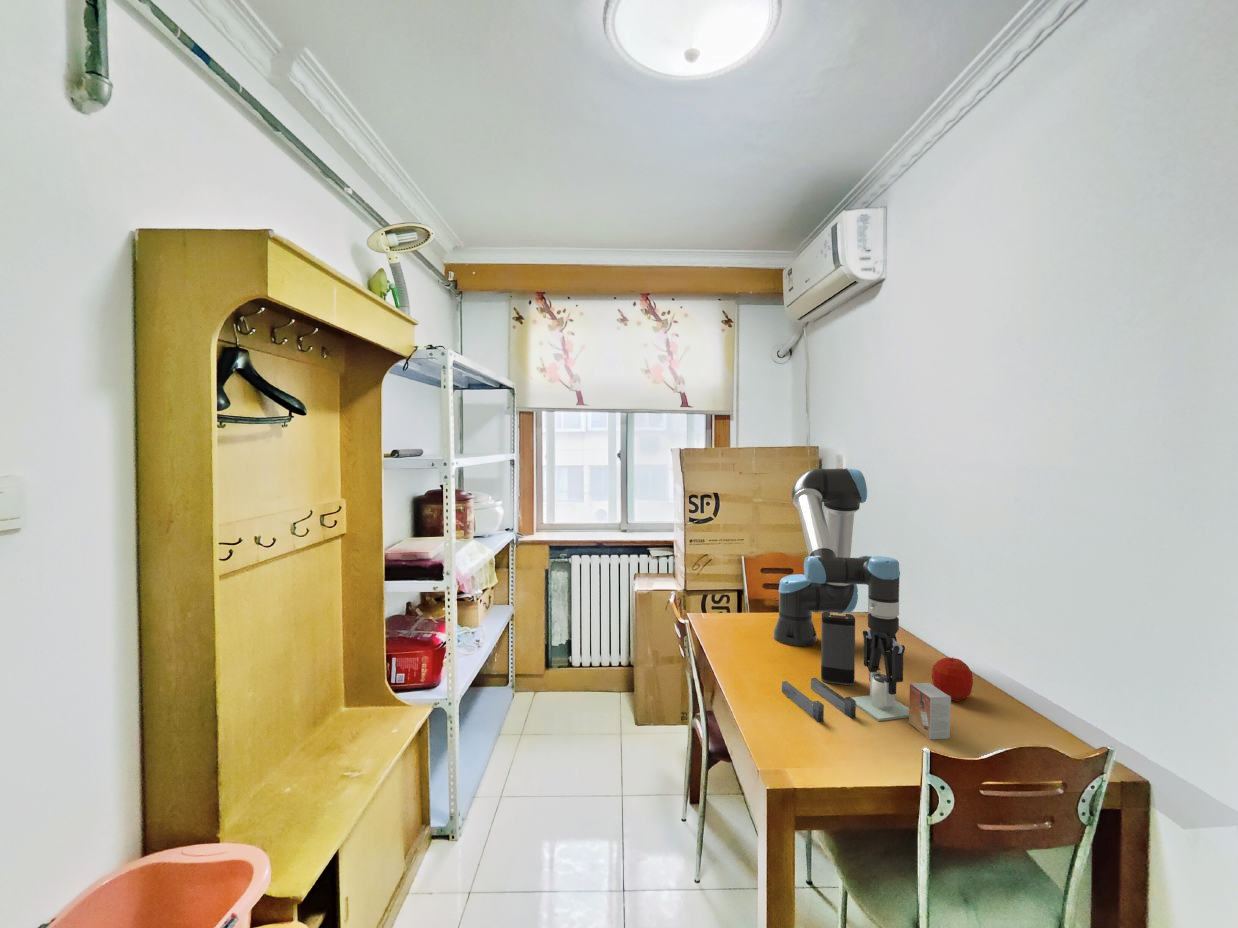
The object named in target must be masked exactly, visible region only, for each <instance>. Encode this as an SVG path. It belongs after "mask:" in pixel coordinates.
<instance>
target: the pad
mask: <svg viewBox="0 0 1238 928" xmlns="http://www.w3.org/2000/svg"><path fill="white" fill-rule="evenodd" d="M851 698H852V699H854V700H855V701H856V707H858V708H859V709H861V711H863V712H865V714H867V715H869V716H870V717H872V718H873V719H875V720H876V721H878V722H882V721H884V722H885V721H889V720H896V719H897V720H899V719H905V718H909V706H906V705H904V704H903V703H902V702H899V701H898V700H896V699H895V705H892V708H891V709H890V710H880V709H877V708H875V707H873V706H872V697H871V696H870V694H869V695H863V696H856V697H855V696H854V697H851Z"/></svg>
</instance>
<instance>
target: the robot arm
mask: <svg viewBox="0 0 1238 928" xmlns="http://www.w3.org/2000/svg"><path fill="white" fill-rule="evenodd" d="M866 482H867V481H866V478H865V476H864V473H863V472H862V471H861V470H859V469H855V468H812V469H809V470H807V471H805V472H803V473H802V474H801V475H800V476H799V477H798V478H797V479H796V480H795V482H794V484H793V486H792V490H791V500H792V503H793V506H794V507H795V508H796V509H797V512H798V516H799V519H800V525H801V527H802V533H803V536H804V541H805V545H806V549H807V554H808V556H806V557H805V558H804V562H803V573H804V574H801V573H799V574H798V573H797V574H790V575H786V576H784V577H782V578H781V579H780V580H779V586H778V619H777V621H776V624H775V627H774V630H773V638H774V639H775V640H776V641H777V642H779V643H783V644H786V645H790V646H797V647H807V646H812V645H815V644H816V643H817V642H818V635H817V631H816V629H815V624H814V622H813V613H823V612H830V614H837V615H839V614H851V613H852V612H853V611H854V610H855V609H856V607H857V604H858V601H859V600H858V599H859V594H858V592H859V589H858V588H859V587H858V585H867V586H868V587H867V588H868V589H867V590H868V594H867V595H868V596H867V597H868V599H867V600H868V603H867V604H868V605H867V606H868V607H867V608H868V609H867V611H868V613H869V614H868V615H867V626H868V629H869V630H862V636H863V637H862V638H863V666H864V667H867V669H868V672H869V673H868V674H869V675H868V677H869V679H868V680H869V695H870V696H871V697H872V677H874V675H875V674H882V673H881V667H880V662H881V658H882V656H883V661H884V662H883V663H884V669H885V675H886V676H887V680H885V684H884V705H886V706H890V705H895V700H896V694H897V683H903V682H904V654H905V650H906V646H905V645H903V644H900V643H899V642H898V640H897V639H898V638H897V635H896V634H897V633H898V632H899V627H900V626H899V625H900V618H899V615H900V577H901V570H900V563H899V561H898V559H896V558H894V557H888V556H881V555H880V556H879V555H878V556H870V555H861V556H859V557H851V554H852V545H853V544H852V543H853V533H854V532H853V531H854V518H855V513H856V512H857V511H859V510H860V506H861V504H863V503H866V502H867V498H868V488H867V483H866ZM822 503H823V507H824V508H826V510H827V519H826V517H825V513H824V510H823V507H822Z"/></svg>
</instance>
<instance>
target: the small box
mask: <svg viewBox="0 0 1238 928" xmlns="http://www.w3.org/2000/svg"><path fill="white" fill-rule="evenodd" d="M908 708H909V717H908V723H909V724H910V725H911V726H913V727H914V728H915V729H916V730H917V731H918V732H920V733H921V734H922V735H923V736H924V737H926V739H928V740H943V739H946V740H947V739H950V738H951V713H952V711H951V710H952V709H951V708H952V700H951V697H950V696H949V695H947V694H945V693H944V692H942V691H941V690H939V689H938V688H936V687H935V686H934V685H933V683H930V682H922V683H921V682H919V683H915V682H914V683H909V704H908Z"/></svg>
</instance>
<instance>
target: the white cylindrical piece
mask: <svg viewBox="0 0 1238 928" xmlns="http://www.w3.org/2000/svg"><path fill="white" fill-rule="evenodd" d="M885 680H887V676H886V674H882V673H881V674H875V675H874V677H872V706H873V707H875V708H877V709H880V710H890V709H891V708H892V705H890V706H886V705H884V684H885Z"/></svg>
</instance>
